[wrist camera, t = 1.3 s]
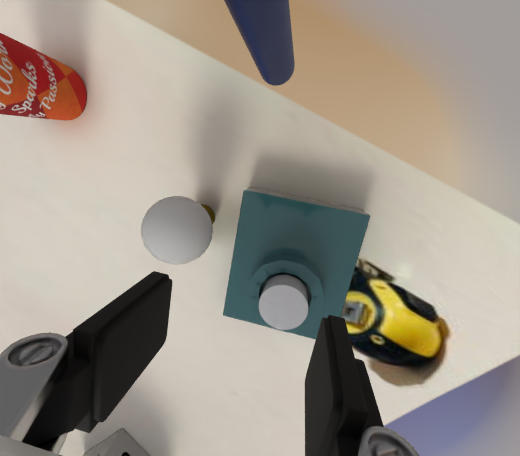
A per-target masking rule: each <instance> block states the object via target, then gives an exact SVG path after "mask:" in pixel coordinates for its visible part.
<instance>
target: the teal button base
mask: <svg viewBox="0 0 520 456" xmlns="http://www.w3.org/2000/svg"><path fill="white" fill-rule="evenodd" d="M369 219H370V215H369V214H368V213H366V212H365V211H364V210H361V209H356V208H351V207H346V206H341V205H336V204H331V203H327V202H322V201H317V200H312V199H307V198H302V197H297V196H292V195H287V194H282V193H277V192H273V191H268V190H263V189H258V188H253V187H249V188H247V189H245V190H244V192H243V198H242V204H241V210H240V216H239V222H238V228H237V234H236V240H235V246H234V252H233V258H232V264H231V270H230V276H229V282H228V288H227V294H226V300H225V306H224V312H223V315H224V316H227V317H231V318H235V319H239V320H243V321H247V322H251V323H254V324H258V325H262V326H266V327H269V328H273V329H277V328H274V327H272V326H270V325H269V324H268V323H266V322H265V321H264V319H263V318H262V316H261V314H260V312H259V300H260V296H261V293H262V290H263V287H264V285H265V283H266V282H267V281H268V280H269V279H270V278H272V277H274V276H276V275H280V274H287V275H291V276H294V277H296V278H298V279H299V280H300V281H301V282H302V283H303V284H304V285H305V287H306V289H307V292H308V314H307V317H306V319H305V320H304V322H303V323H302V324H301V325H299V326H298V327H296V328H293V329H289V330H281V329H277V330H280V331H284V332H289V333H293V334H297V335H301V336H305V337H309V338H312V339H316V338H317V334H318V331H319V327H320V324H321V320H322V318H323V317H325V318H327V317H328V315H333V316H337V317H340V316H341V313H342V309H343V306H344V303H345V299H346V296H347V292H348V289H349V286H350V282H351V279H352V276H353V272H354V269H355V266H356V262H357V259H358V256H359V252H360V249H361V246H362V242H363V239H364V236H365V232H366V229H367V226H368V222H369Z"/></svg>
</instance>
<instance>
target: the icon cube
mask: <svg viewBox="0 0 520 456" xmlns="http://www.w3.org/2000/svg"><path fill="white" fill-rule="evenodd" d="M83 456H150V455H149V454H148V453H147V452H146V451H145V450H144V449H143V448H142V447H141V446H140V445H139V444H138V443H137V442H136V441H135V440H134V439H133V438H132V437H131V436H130V435H129V434H128V433H127V432H126V431H125V430H124V429H123V428H122V429H120V430H119V431H117V432H116V433H114V434H113V435H111V436H110V437H108V438H107V439H105V440H104V441H102V442H101V443H99V444H98V445H96V446H95V447H93V448H92V449H90V450H89V451H87V452H86V453H85V454H84V455H83Z"/></svg>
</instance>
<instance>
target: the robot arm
mask: <svg viewBox="0 0 520 456" xmlns="http://www.w3.org/2000/svg"><path fill="white" fill-rule="evenodd" d="M171 290H172V280H171V279H169V276H168V275H167V274H163V273H159V272H155V271H154V272H152V273H150V274H149V275H148V276H146V277H145V278H144V279H142V280H141V281H139V282H138V283H137V284H135V285H134V286H133V287H131V288H130V289H128V290H127V291H126V292H124V293H123V294H122V295H120V296H119V297H117V298H116V299H115V300H113V301H112V302H111V303H109V304H108V305H106V306H105V307H104V308H102V309H101V310H100V311H98V312H97V313H95V314H94V315H93V316H91V317H90V318H89V319H87V320H86V321H84V322H83V323H82V324H80V325H79V326H77V327H76V328H75V329H73V332H72V333H70V334H69V335H67V336H66V337H64V336H62V335H59V334H55V333H40V334H36V335H31V336H28V337H25V338H23V339H20V340H18V341H17V342H15V343H13V344H11V345H10V346H9V347H8V348H6V349H5V350H4V351H3V352H2V353H1V354H0V456H61V455H58V454H59V452H60V450H61V448H62V446H63V443H64V441H65V439H66V437H67V434H68V432H70V431H73V430H74V429H78V430H81V431H84V432H87V433H90V432H91V431H92V430H93V428H94V427H95V426H96V425H97V423H98V422H104V421H105V420H106V419H107V417H108V416H109V415H110V414H111V412H112V411H113V410H114V408H115V407H116V406H117V404H118V403H119V402H120V401H121V399H122V398H123V397H124V395H125V394H126V393H127V391H128V390H129V389H130V388H131V386H132V385H133V384H134V382H135V381H136V380H137V378H138V377H139V376H140V375H141V373H142V372H143V371H144V369H145V368H146V367H147V365H148V364H149V363H150V362H151V360H152V359H153V358H154V356H155V355H156V354H157V352H158V351H159V350H160V349H161V347H162V346H163V344H164V342H165V340H166V336H167V328H168V318H169V309H170V300H171ZM305 456H419V454H418V453H417V452H416V450H415V449H414V447H413V446H411V444H410V443H409V442H408V441H407V440H406V439H404V438H403V437H402V436H400V435H399V434H397V433H396V432H394V431H392V430H390V429H388V428H385V427H384V426H383V423H382V420H381V416H380V413H379V410H378V406H377V403H376V400H375V396H374V393H373V390H372V386H371V383H370V380H369V377H368V373H367V370H366V367H365V364H364V362H363V361H362V360H359V359H355V357H354V353H353V350H352V346H351V342H350V338H349V334H348V330H347V327H346V323H345V319H344V318H341V317H337V316H333V315H328V317H327V318H325V317H323V318H322V320H321V324H320V327H319V331H318V334H317V338H316V341H315V345H314V349H313V352H312V356H311V359H310V363H309V367H308V370H307V374H306V379H305Z"/></svg>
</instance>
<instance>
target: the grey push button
mask: <svg viewBox="0 0 520 456" xmlns="http://www.w3.org/2000/svg"><path fill="white" fill-rule="evenodd" d="M259 312H260V314H261V316H262V318H263V319H264V321H265V322H266V323H268V324H269V325H270V326H272V327H274V328H277V329H281V330H289V329H293V328H296V327H298V326H299V325H301V324H302V323H303V322H304V320H305V319H306V317H307V314H308V292H307V289H306V287H305V285H304V284H303V283H302V282H301V281H300V280H299V279H298V278H296V277H294V276H291V275H287V274H280V275H276V276H274V277H272V278H270V279H269V280H268V281H267V282H266V283H265V285H264V287H263V290H262V293H261V296H260V300H259Z"/></svg>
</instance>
